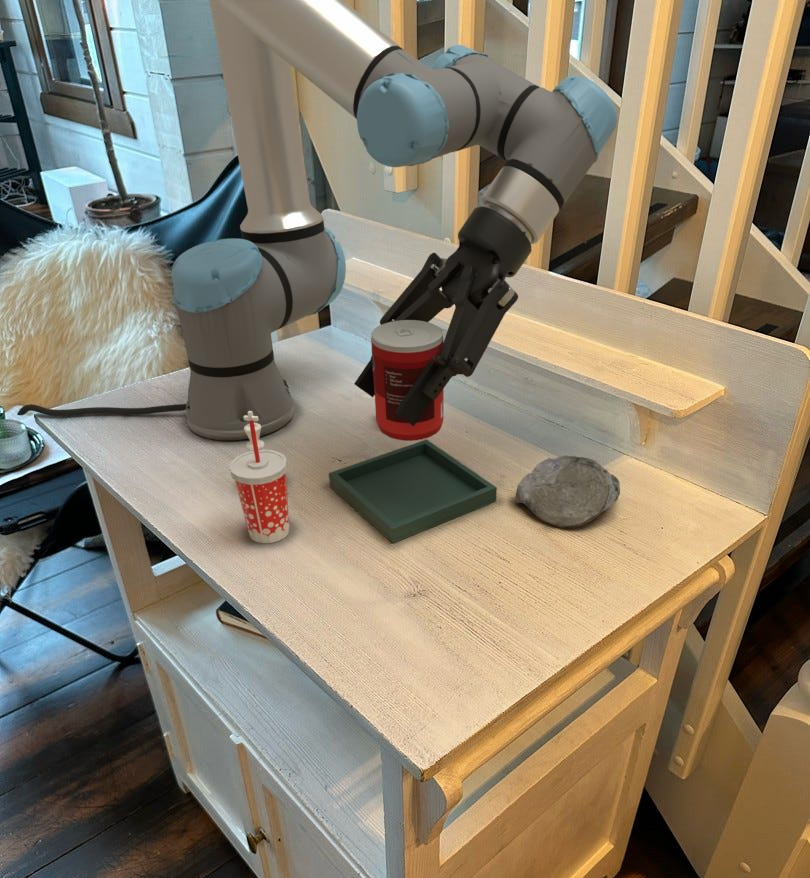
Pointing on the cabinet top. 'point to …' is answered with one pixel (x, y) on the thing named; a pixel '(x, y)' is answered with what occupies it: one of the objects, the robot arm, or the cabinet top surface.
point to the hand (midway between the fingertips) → (383, 404)
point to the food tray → (411, 489)
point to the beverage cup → (262, 492)
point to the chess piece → (257, 430)
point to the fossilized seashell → (568, 491)
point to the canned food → (404, 375)
